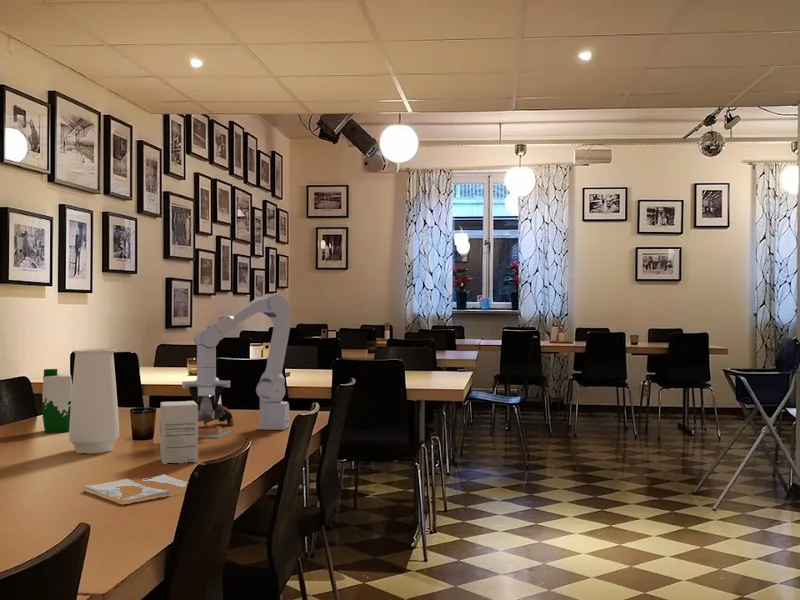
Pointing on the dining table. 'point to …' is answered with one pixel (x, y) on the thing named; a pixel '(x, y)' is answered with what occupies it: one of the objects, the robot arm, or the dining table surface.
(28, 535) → the dining table surface
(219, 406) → the pottery mug
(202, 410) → the grey cylinder
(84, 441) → the vase
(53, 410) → the milk carton
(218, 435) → the flange plate
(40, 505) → the dining table surface
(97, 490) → the white flat pieces
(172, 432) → the supplement box
